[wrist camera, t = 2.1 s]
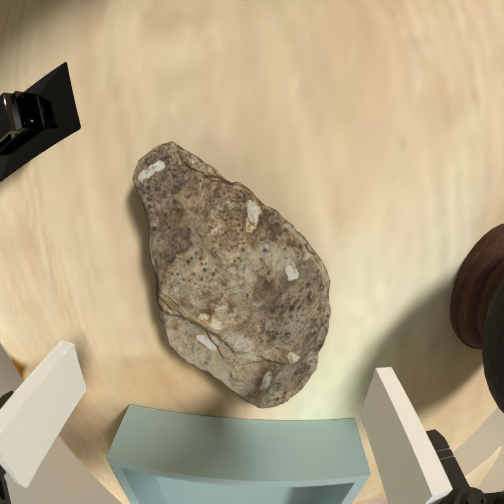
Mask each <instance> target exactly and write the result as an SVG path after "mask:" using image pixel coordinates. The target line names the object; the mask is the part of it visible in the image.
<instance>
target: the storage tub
mask: <svg viewBox="0 0 504 504" xmlns="http://www.w3.org/2000/svg"><path fill="white" fill-rule="evenodd" d="M106 459H107V461H108V463H109V465H110V467H111V469H112V471H113V473H114V474H115V476H116V478H117V480H118V482H119V484H120V485H121V487H122V489H123V491H124V492H125V494H126V496H127V498H128V499H129V501H130V503H131V504H351V503H352V501H353V500H354V499H355V497H356V496H357V494H358V493H359V492H360V490H361V489H362V487H363V486H364V484H365V483H366V481H367V480H368V478H369V477H370V475H371V473H370V469H369V466H368V462H367V459H366V455H365V452H364V448H363V445H362V442H361V438H360V435H359V432H358V428H357V425H356V422H355V418H350V419H333V420H253V419H236V418H223V417H212V416H202V415H193V414H185V413H178V412H171V411H165V410H158V409H152V408H147V407H141V406H136V405H131V404H130V405H129V407H128V409H127V411H126V413H125V416H124V418H123V420H122V422H121V424H120V427H119V429H118V431H117V433H116V436H115V438H114V440H113V443H112V445H111V447H110V449H109V452H108V454H107V456H106Z"/></svg>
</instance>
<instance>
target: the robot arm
mask: <svg viewBox="0 0 504 504" xmlns="http://www.w3.org/2000/svg"><path fill="white" fill-rule="evenodd" d="M86 390H87V388H86V385H85V382H84V378H83V375H82V372H81V368H80V365H79V361H78V358H77V354H76V350H75V346H74V344H73V343H69V342H64V341H60V342H59V343H58V344H57V345H56V346H55V347H54V349H53V350H52V351H51V352H50V353H49V354H48V355H47V356H46V357H45V358H44V359H43V360H42V362H41V363H40V364H39V365H38V366H37V367H36V368H35V369H34V370H33V372H32V373H31V374H30V375H29V376H28V377H27V378H26V380H25V381H24V382H23V383H22V384H21V385H20V386H19V388H18V389H17V390H16V391H15V392H13V391H10V392H9V393H6V394H5V395H3V396H2V397H1V398H0V504H11V501H10V497H9V492H8V488H7V483H6V480H5V478H4V477H3V476H4V475H5V473H7V474H8V475H9V476H10V478H11V479H12V480H13V481H15V482H16V483H18V484H20V485H22V486H24V487H25V488H27V487H28V485H29V484H30V482H31V480H32V478H33V476H34V475H35V473H36V471H37V469H38V468H39V466H40V464H41V462H42V460H43V459H44V457H45V456H46V454H47V452H48V451H49V449H50V447H51V446H52V444H53V442H54V441H55V439H56V437H57V436H58V434H59V432H60V431H61V429H62V427H63V426H64V424H65V423H66V421H67V419H68V418H69V416H70V415H71V413H72V412H73V410H74V408H75V407H76V405H77V404H78V402H79V401H80V399H81V397H82V396H83V394H84V393H85V391H86ZM360 415H361V418H362V421H363V424H364V427H365V430H366V433H367V436H368V439H369V442H370V445H371V448H372V451H373V454H374V457H375V461H376V464H377V467H378V470H379V473H380V477H381V480H382V483H383V487H384V490H385V493H386V497H387V500H388V503H389V504H504V491H503V492H496V493H486V494H485V493H483V492H482V491H481V490H479V489H477V488H473V487H470V486H469V484H468V483H467V481H466V479H465V477H464V475H463V473H462V471H461V469H460V467H459V465H458V463H457V461H456V459H455V457H453V453H452V451H451V449H449V445H448V443H447V441H446V440H445V438H444V437H443V436H442V435H441V434H440V433H439V432H438V431H437V430H430V431H425V430H424V428H423V426H422V424H421V422H420V420H419V418H418V416H417V414H416V412H415V410H414V408H413V406H412V404H411V402H410V400H409V399H408V397H407V395H406V393H405V391H404V389H403V387H402V385H401V384H400V382H399V380H398V378H397V376H396V374H395V373H394V371H393V369H392V367H385V368H375V372H374V375H373V378H372V381H371V383H370V386H369V389H368V392H367V395H366V398H365V400H364V403H363V406H362V408H361V411H360Z"/></svg>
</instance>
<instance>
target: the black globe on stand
mask: <svg viewBox="0 0 504 504" xmlns="http://www.w3.org/2000/svg"><path fill="white" fill-rule="evenodd" d="M450 314H451V323H452V327H453V330H454V331H455V333H456V335H457V336H458V338H459V339H460V340H461V341H462V342H463V343H464V344H465V345H466V346H469V347H471V348H473V349H482V354H483V364H484V374H485V377H486V381H487V384H488V387H489V390H490V392H491V395H492V397H493V398H494V400H495V402H496V404H497V406H498V407H499V409H500V410H501V411H502V412H503V413H504V224H501V225H499V226H497V227H495V228H493V229H491V230H490V231H489V232H488V233H486V234H485V235H484V236H483V237H482V238H481V239H480V240H479V241H478V242H477V243H476V244H475V246H474V247H473V249H472V250H471V252H470V253H469V254H468V256H467V258H466V259H465V261H464V263H463V265H462V267H461V269H460V271H459V274H458V277H457V279H456V282H455V285H454V289H453V293H452V297H451V306H450Z"/></svg>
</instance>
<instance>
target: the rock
mask: <svg viewBox="0 0 504 504" xmlns="http://www.w3.org/2000/svg"><path fill="white" fill-rule="evenodd" d="M133 182H134V184H135V186H136V189H137V192H138V194H139V197H140V199H141V202H142V204H143V206H144V209H145V213H146V217H147V221H148V225H149V230H150V241H149V249H150V252H151V259H152V263H153V266H154V269H155V278H156V297H157V303H158V313H159V317H160V320H161V322H162V323H163V324H164V325H165V327H166V330H167V336H168V341H169V345H170V346H171V347H172V348H173V349H174V350H175V351H176V352H177V353H178V354H179V356H180V357H181V358H182V359H183V360H185V361H186V362H187V363H189V364H194V365H195V366H197V368H198V369H202V370H206V371H209V372H210V373H211V374H212V375H213V376H214V377H215V378H217V379H219V380H220V381H222V382H223V383H224V384H225V385H226V386H227V387H228V388H229V389H230V390H232V391H234V392H236V393H237V394H239V395H241V396H242V397H243V398H244V399H245V400H246V401H248V402H249V403H251V404H253V405H255V406H256V407H258V408H270V407H275V406H278V405H280V404H283V403H285V402H287V401H288V400H289V399H290V398H291V397H293V396H294V395H295V394H297V393H298V392H299V391H300V390H301V389H302V388H303V387H304V385H305V384H306V383H307V381H308V380H309V378H310V377H311V375H312V374H313V372H314V371H315V370H316V368H317V362H318V352H319V351H320V349H321V348H322V346H323V344H324V340H325V338H326V336H327V333H328V328H329V318H330V314H331V310H330V305H329V286H330V279H329V276H328V273H327V271H326V268H325V266H324V264H323V262H322V260H321V259H320V257H319V256H318V255H317V254H316V252H315V251H314V250H313V249H312V247H311V246H310V245H309V243H308V242H307V240H306V239H305V238H304V236H303V235H302V234H300V233H299V232H298V231H296V230H295V228H294V227H293V225H292V224H291V223H289V222H288V221H287V220H285V219H284V218H283V217H282V216H281V215H280V214H279V213H278V212H277V211H276V210H275V209H273V208H270V207H268V206H265V205H264V204H263V203H262V202H261V201H260V200H259V199H258V198H257V197H256V196H255V195H254V193H253V192H252V191H250V190H249V189H248V188H247V187H245V186H244V185H242V184H241V183H239V182H234V183H231V182H229V181H227V180H226V179H224V178H223V177H222V176H221V175H220V174H219V173H218V171H217V170H215V169H214V168H213V167H212V166H210V165H208V164H206V163H204V162H203V161H202V160H201V159H200V158H198V157H197V156H195V155H193V154H191V153H190V152H188V151H187V150H185V149H183V148H181V147H180V146H179V145H178V144H176V143H174V142H168V143H164V144H162V145H159V146H157V147H155V148H154V149H152V150H151V151H150V152H149V153H147V154H146V155H145V156H143V157H142V158H141V159H140V160H139V161H138V164H137V166H136V169H135V171H134V176H133Z"/></svg>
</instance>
